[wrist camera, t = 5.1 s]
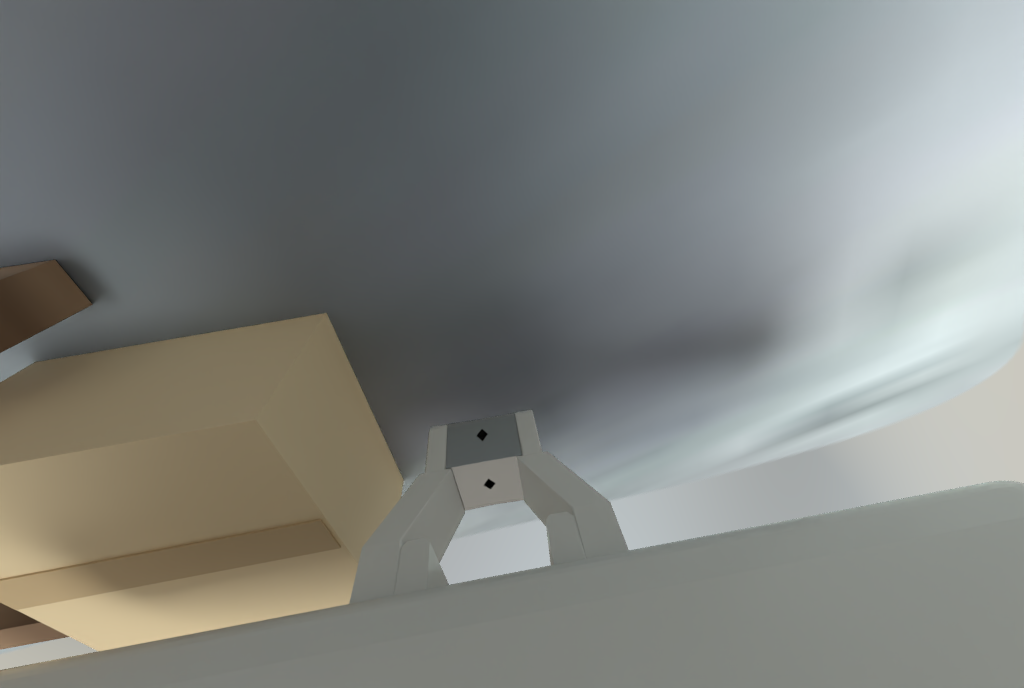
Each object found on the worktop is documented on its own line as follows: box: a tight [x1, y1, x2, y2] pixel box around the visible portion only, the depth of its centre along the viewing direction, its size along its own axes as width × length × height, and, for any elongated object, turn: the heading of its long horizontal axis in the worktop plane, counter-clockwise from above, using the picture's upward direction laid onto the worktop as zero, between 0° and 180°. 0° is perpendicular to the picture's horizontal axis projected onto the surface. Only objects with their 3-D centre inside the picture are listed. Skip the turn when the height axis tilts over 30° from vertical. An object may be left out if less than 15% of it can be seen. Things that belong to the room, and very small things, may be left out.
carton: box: [0, 313, 404, 651], centre depth 10 cm, size 8×8×4 cm
